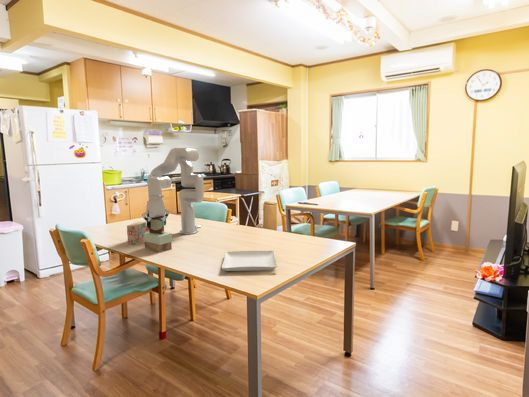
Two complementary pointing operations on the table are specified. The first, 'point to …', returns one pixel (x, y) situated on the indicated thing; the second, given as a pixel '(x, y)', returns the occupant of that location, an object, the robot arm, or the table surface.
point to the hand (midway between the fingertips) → (156, 226)
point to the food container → (157, 225)
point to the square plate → (249, 261)
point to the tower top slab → (158, 238)
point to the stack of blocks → (136, 232)
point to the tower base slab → (158, 247)
